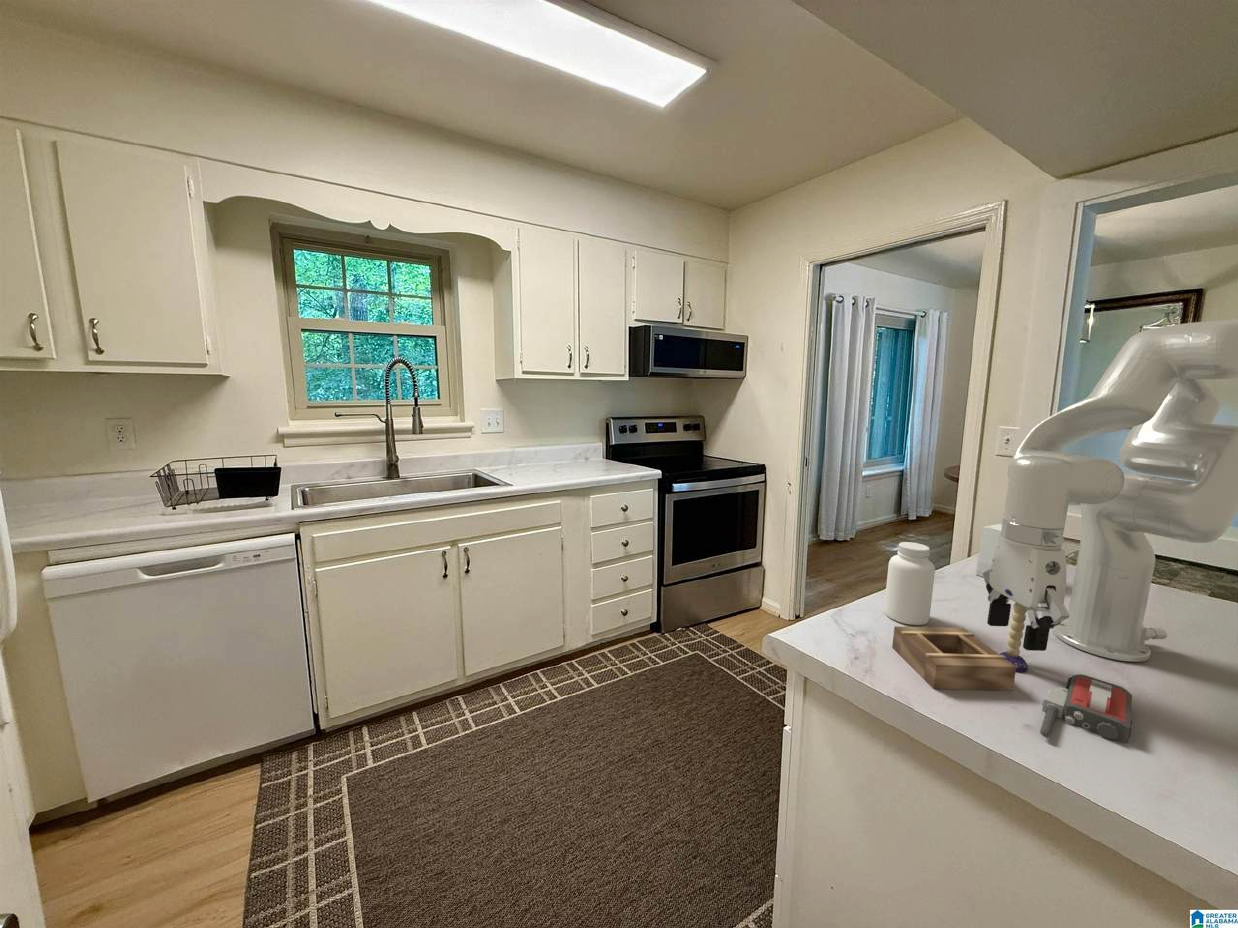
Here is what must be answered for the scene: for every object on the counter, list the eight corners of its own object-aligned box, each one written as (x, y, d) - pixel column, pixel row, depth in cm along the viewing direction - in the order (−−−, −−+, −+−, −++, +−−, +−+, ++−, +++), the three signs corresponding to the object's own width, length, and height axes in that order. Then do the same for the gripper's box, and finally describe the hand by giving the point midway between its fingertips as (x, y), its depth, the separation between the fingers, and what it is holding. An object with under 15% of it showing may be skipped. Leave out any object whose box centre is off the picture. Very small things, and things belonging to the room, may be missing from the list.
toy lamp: (1035, 675, 79) (1051, 577, 76) (1002, 672, 80) (1017, 575, 77) (1018, 659, 84) (1032, 566, 81) (987, 656, 85) (1000, 564, 82)
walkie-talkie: (1052, 680, 79) (1032, 739, 65) (1056, 654, 78) (1037, 709, 64) (1130, 706, 72) (1126, 778, 59) (1136, 679, 72) (1133, 746, 58)
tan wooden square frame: (960, 648, 87) (963, 626, 86) (1012, 690, 75) (1016, 664, 74) (892, 647, 87) (894, 624, 86) (933, 688, 75) (936, 662, 75)
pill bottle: (925, 612, 101) (934, 542, 98) (931, 630, 93) (941, 555, 91) (882, 605, 104) (889, 537, 102) (884, 621, 97) (892, 548, 94)
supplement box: (1008, 586, 115) (1015, 534, 113) (974, 574, 122) (981, 525, 120) (1025, 581, 118) (1033, 530, 116) (992, 570, 125) (999, 522, 123)
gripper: (1107, 552, 69) (1086, 667, 72) (1012, 519, 87) (998, 613, 89) (1053, 551, 70) (1034, 666, 72) (969, 518, 87) (957, 612, 90)
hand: (1015, 636), depth 81 cm, fingers open, 7 cm apart
